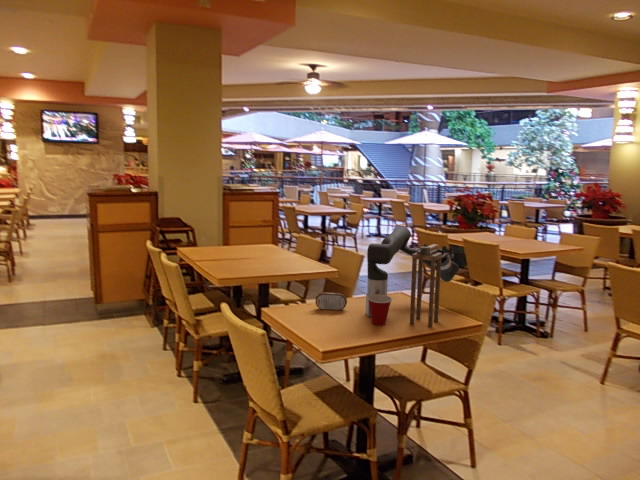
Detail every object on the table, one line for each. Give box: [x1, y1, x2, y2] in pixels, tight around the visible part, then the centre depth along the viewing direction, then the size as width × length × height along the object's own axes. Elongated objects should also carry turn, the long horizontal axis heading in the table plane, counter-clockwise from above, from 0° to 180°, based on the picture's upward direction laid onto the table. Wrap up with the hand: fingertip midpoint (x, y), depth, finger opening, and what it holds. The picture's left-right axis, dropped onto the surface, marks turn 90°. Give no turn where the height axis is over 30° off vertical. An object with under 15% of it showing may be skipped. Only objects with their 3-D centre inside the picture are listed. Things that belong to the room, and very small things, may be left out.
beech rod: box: [419, 243, 440, 255], centre depth 233 cm, size 3×18×3 cm, turn 151°
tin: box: [314, 291, 348, 312], centre depth 252 cm, size 15×3×8 cm, turn 84°
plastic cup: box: [367, 294, 393, 327], centre depth 230 cm, size 11×11×12 cm
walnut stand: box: [409, 250, 442, 328], centre depth 232 cm, size 10×10×32 cm
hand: (434, 246), depth 238 cm, fingers open, 8 cm apart
